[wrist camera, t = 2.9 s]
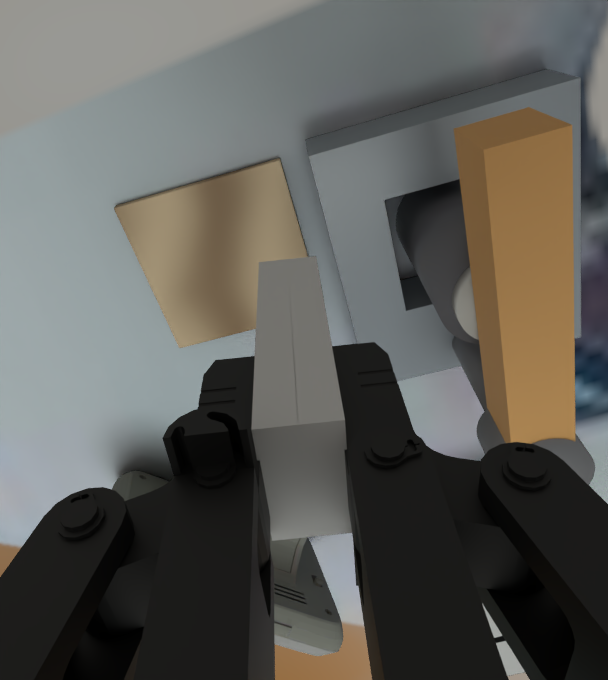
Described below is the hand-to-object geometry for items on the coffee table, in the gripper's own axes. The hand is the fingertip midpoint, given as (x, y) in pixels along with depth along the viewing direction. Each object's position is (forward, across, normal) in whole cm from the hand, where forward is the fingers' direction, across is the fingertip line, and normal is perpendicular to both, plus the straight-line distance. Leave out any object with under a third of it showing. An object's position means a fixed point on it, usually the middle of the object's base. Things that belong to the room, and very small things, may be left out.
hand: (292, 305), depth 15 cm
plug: (+16, +8, -4) cm, 18 cm away
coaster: (+16, -4, -5) cm, 17 cm away
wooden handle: (+5, +8, -4) cm, 10 cm away
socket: (+16, +8, -4) cm, 18 cm away
